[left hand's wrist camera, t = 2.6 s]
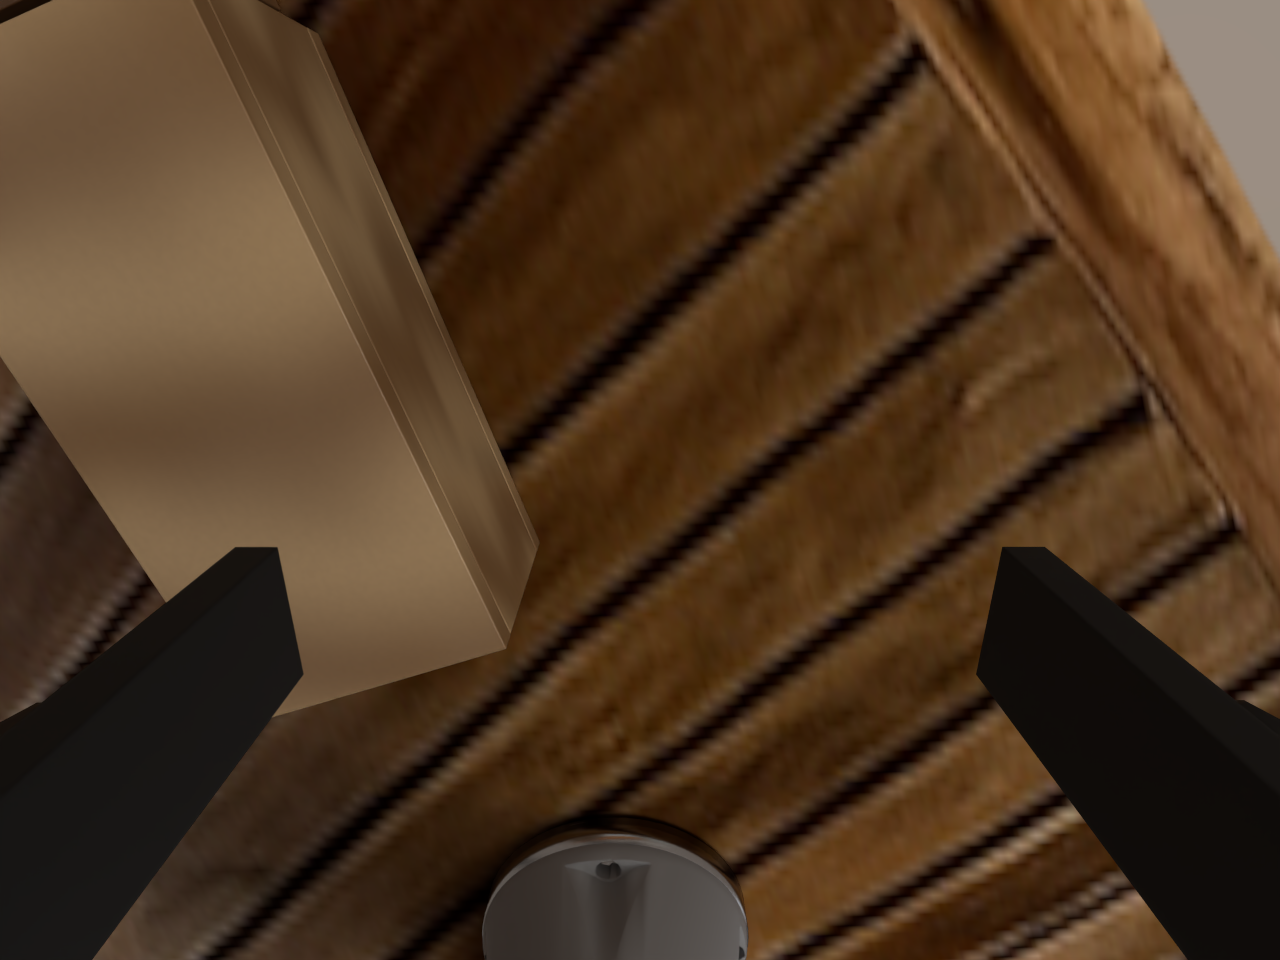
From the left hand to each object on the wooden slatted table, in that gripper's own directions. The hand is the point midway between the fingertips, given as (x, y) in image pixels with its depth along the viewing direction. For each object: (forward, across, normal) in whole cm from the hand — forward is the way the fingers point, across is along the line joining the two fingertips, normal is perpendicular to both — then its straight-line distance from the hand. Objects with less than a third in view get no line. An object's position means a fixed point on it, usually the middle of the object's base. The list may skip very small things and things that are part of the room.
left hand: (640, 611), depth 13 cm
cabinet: (+18, +13, -1) cm, 23 cm away
